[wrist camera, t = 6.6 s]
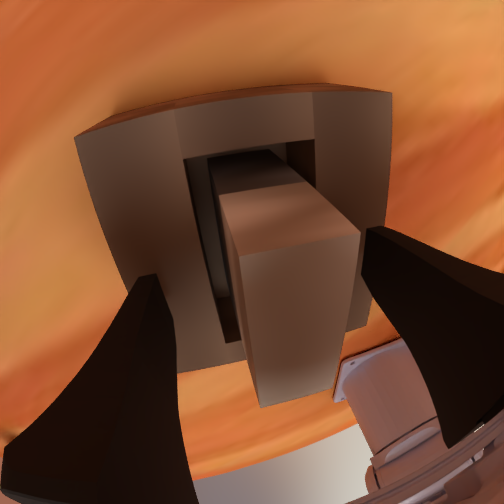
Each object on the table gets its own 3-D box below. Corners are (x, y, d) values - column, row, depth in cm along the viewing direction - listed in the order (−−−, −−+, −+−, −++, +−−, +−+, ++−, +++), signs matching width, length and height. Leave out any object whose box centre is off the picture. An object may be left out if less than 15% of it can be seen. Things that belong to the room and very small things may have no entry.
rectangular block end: (269, 148, 12) (360, 232, 6) (276, 269, 15) (332, 387, 9) (206, 158, 11) (239, 256, 6) (226, 279, 15) (260, 408, 9)
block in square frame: (328, 83, 12) (392, 92, 8) (328, 269, 18) (366, 325, 14) (110, 116, 11) (73, 137, 7) (167, 305, 17) (169, 374, 13)
